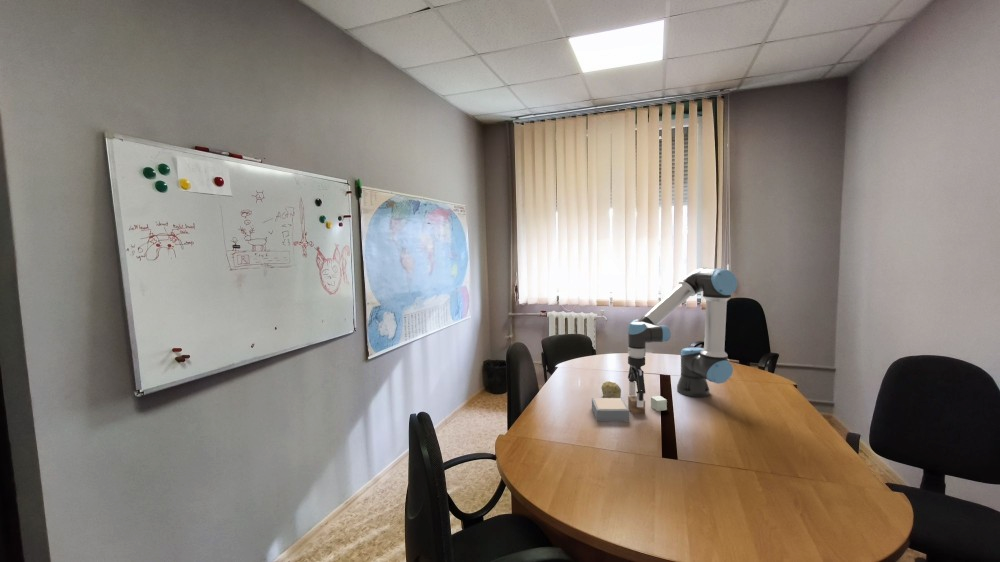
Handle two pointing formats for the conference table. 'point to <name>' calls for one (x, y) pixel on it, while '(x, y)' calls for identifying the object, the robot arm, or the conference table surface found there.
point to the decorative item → (611, 390)
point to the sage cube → (658, 403)
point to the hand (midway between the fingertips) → (636, 400)
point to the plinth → (610, 409)
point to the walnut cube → (635, 406)
